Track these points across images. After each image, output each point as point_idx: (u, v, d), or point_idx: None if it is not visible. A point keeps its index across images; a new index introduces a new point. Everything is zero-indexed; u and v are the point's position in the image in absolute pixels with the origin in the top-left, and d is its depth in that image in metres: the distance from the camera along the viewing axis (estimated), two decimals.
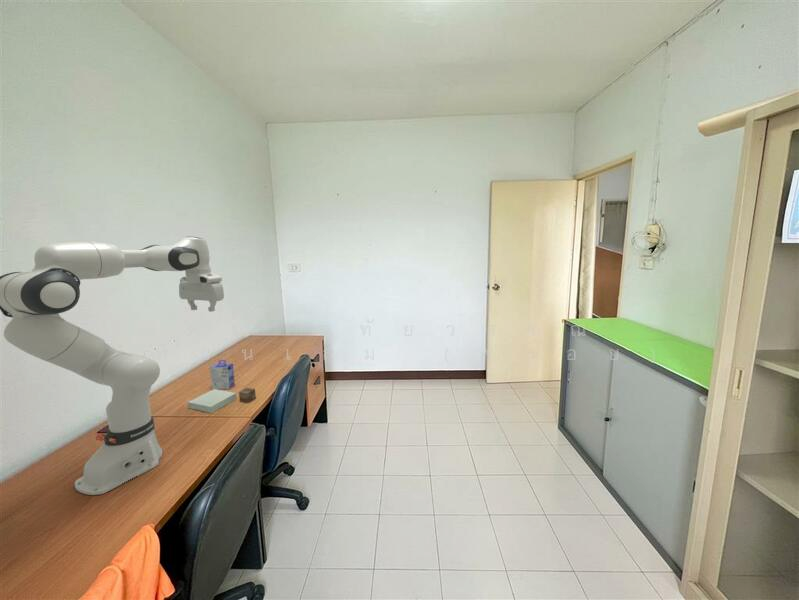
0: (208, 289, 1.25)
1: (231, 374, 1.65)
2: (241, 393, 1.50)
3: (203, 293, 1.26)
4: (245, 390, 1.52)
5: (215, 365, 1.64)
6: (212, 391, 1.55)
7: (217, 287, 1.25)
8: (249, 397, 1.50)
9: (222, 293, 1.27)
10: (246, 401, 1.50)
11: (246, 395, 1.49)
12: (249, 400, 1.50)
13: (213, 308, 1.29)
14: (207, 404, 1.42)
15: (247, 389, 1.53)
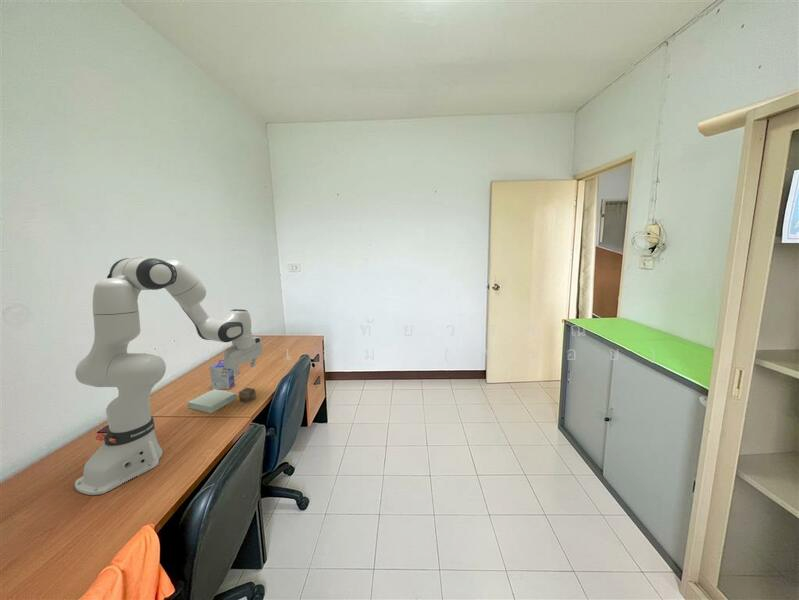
0: (255, 347, 1.54)
1: (231, 374, 1.65)
2: (241, 393, 1.50)
3: (252, 352, 1.51)
4: (245, 390, 1.52)
5: (215, 365, 1.64)
6: (212, 391, 1.55)
7: None
8: (249, 397, 1.50)
9: None
10: (246, 401, 1.50)
11: (246, 395, 1.49)
12: (249, 400, 1.50)
13: None
14: (207, 404, 1.42)
15: (247, 389, 1.53)
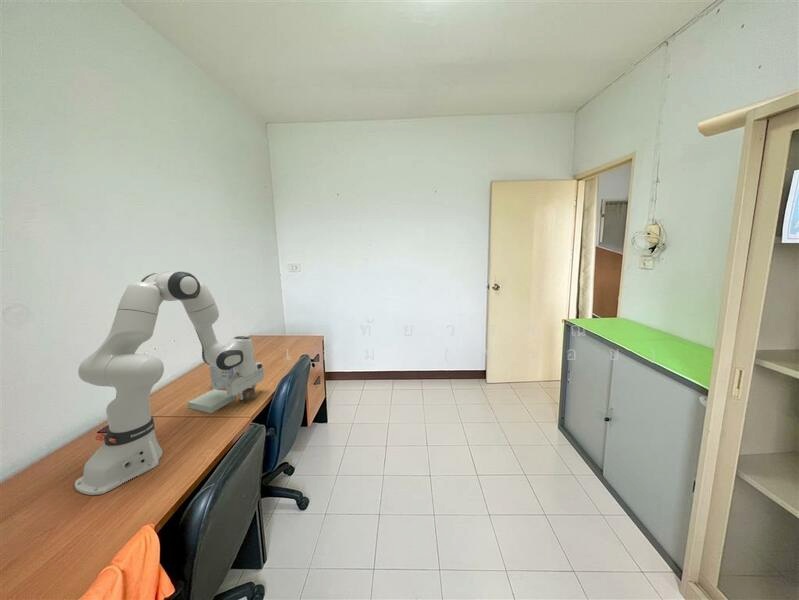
0: (257, 373, 1.56)
1: (231, 374, 1.65)
2: None
3: (254, 378, 1.54)
4: (245, 390, 1.52)
5: None
6: (212, 391, 1.55)
7: None
8: (249, 397, 1.50)
9: None
10: (246, 401, 1.50)
11: (246, 395, 1.49)
12: (249, 400, 1.50)
13: None
14: (207, 404, 1.42)
15: (247, 389, 1.53)
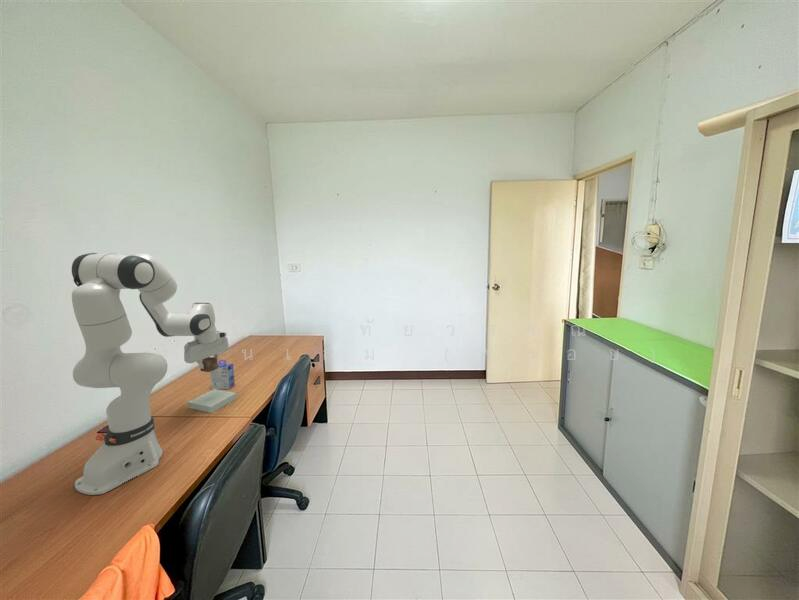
0: (220, 342, 1.49)
1: (231, 374, 1.65)
2: None
3: (216, 347, 1.47)
4: (206, 359, 1.45)
5: None
6: (212, 391, 1.55)
7: None
8: (210, 366, 1.44)
9: None
10: (207, 370, 1.43)
11: (206, 363, 1.43)
12: (210, 369, 1.44)
13: None
14: (207, 404, 1.42)
15: (209, 358, 1.46)
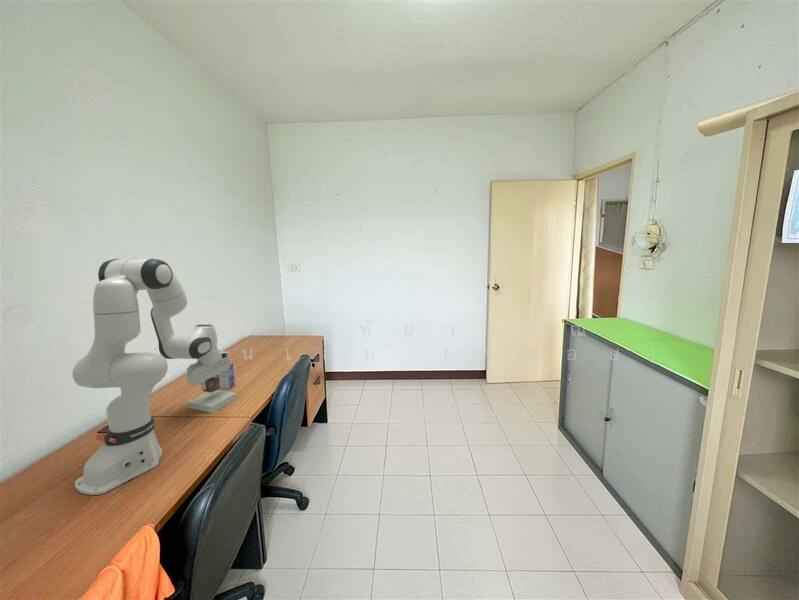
0: (222, 363, 1.51)
1: (231, 374, 1.65)
2: None
3: (219, 368, 1.49)
4: (209, 379, 1.47)
5: None
6: None
7: None
8: (212, 387, 1.46)
9: None
10: (209, 391, 1.45)
11: (209, 384, 1.45)
12: (212, 390, 1.46)
13: None
14: (207, 404, 1.42)
15: (211, 378, 1.48)
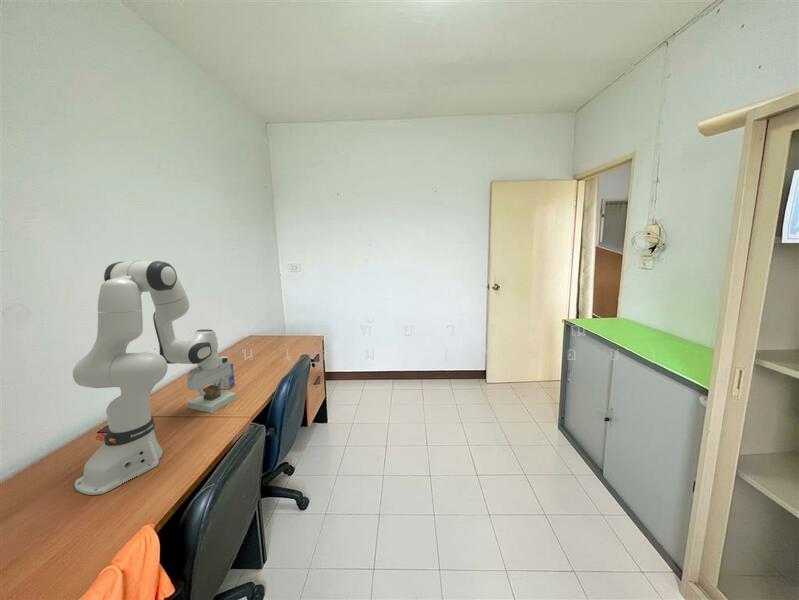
0: (223, 367, 1.52)
1: (231, 374, 1.65)
2: (204, 390, 1.46)
3: (219, 373, 1.49)
4: (209, 387, 1.48)
5: None
6: None
7: None
8: (213, 394, 1.46)
9: None
10: (210, 398, 1.46)
11: (210, 392, 1.45)
12: (213, 397, 1.46)
13: None
14: (207, 404, 1.42)
15: (212, 386, 1.49)
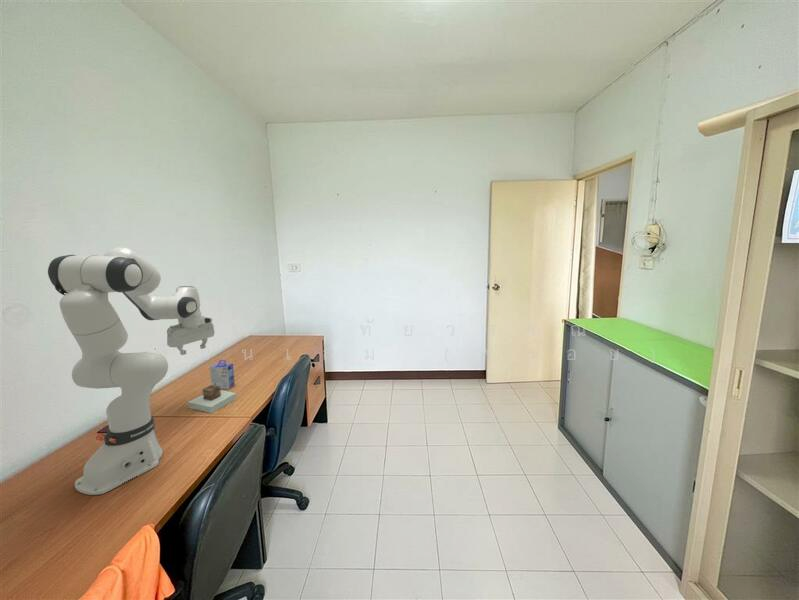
0: (205, 328, 1.47)
1: (231, 374, 1.65)
2: (204, 390, 1.46)
3: (201, 333, 1.45)
4: (209, 387, 1.48)
5: (215, 365, 1.64)
6: None
7: None
8: (213, 394, 1.46)
9: None
10: (210, 398, 1.46)
11: (210, 392, 1.45)
12: (213, 397, 1.46)
13: None
14: (207, 404, 1.42)
15: (212, 386, 1.49)
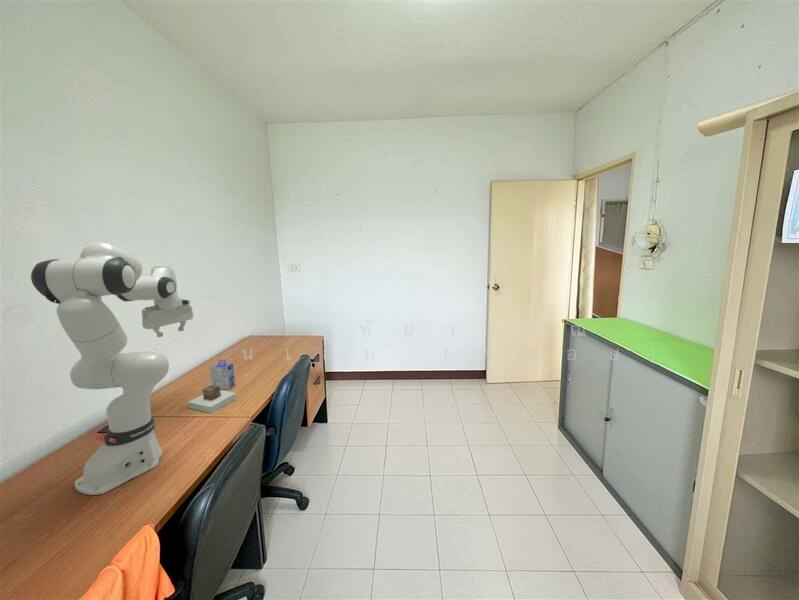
0: (183, 310, 1.44)
1: (231, 374, 1.65)
2: (204, 390, 1.46)
3: (179, 315, 1.42)
4: (209, 387, 1.48)
5: (215, 365, 1.64)
6: None
7: None
8: (213, 394, 1.46)
9: None
10: (210, 398, 1.46)
11: (210, 392, 1.45)
12: (213, 397, 1.46)
13: None
14: (207, 404, 1.42)
15: (212, 386, 1.49)
